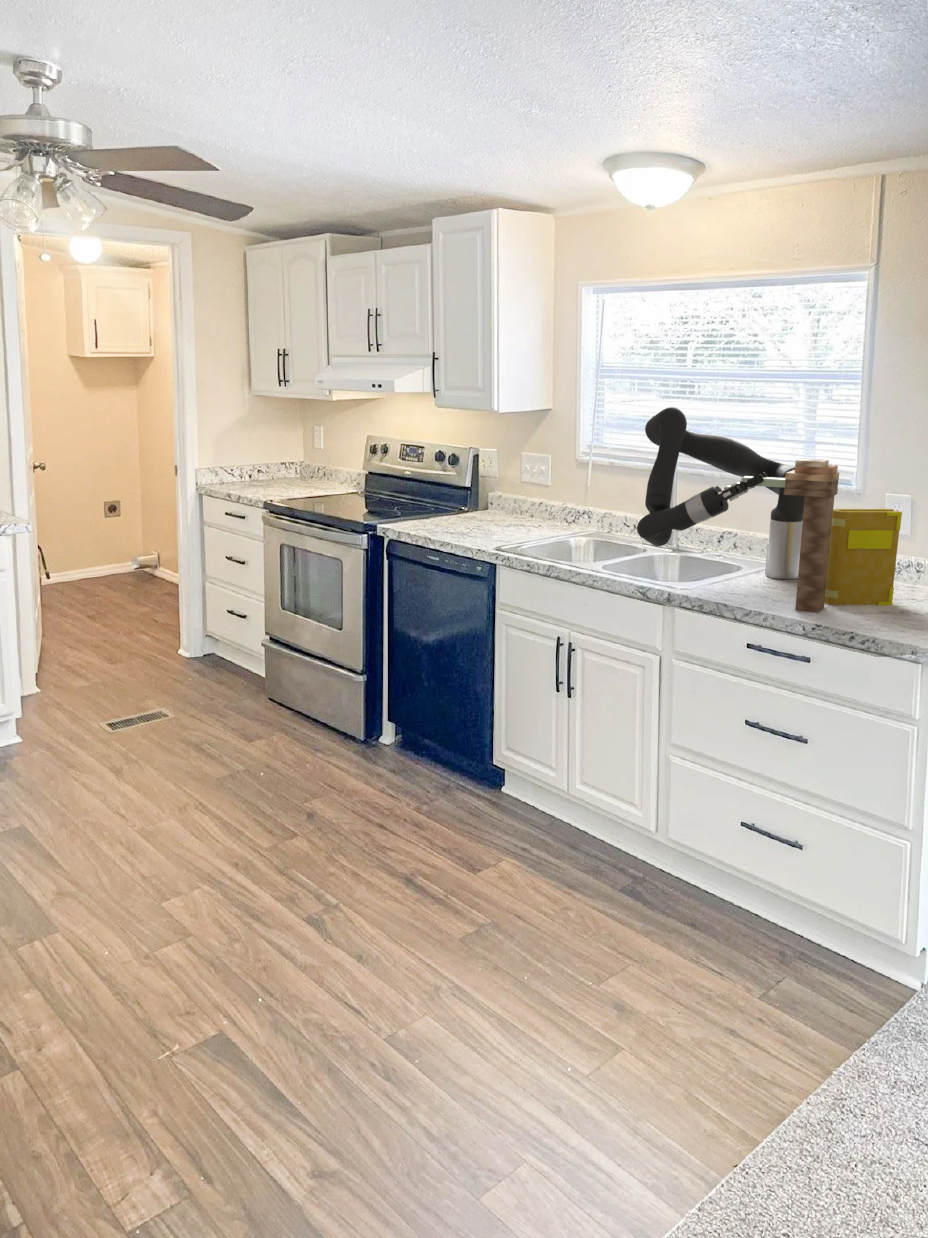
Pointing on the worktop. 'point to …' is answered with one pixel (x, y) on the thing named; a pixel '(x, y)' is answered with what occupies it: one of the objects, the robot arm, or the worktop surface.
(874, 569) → the book
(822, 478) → the tall brown wooden column
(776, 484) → the block
